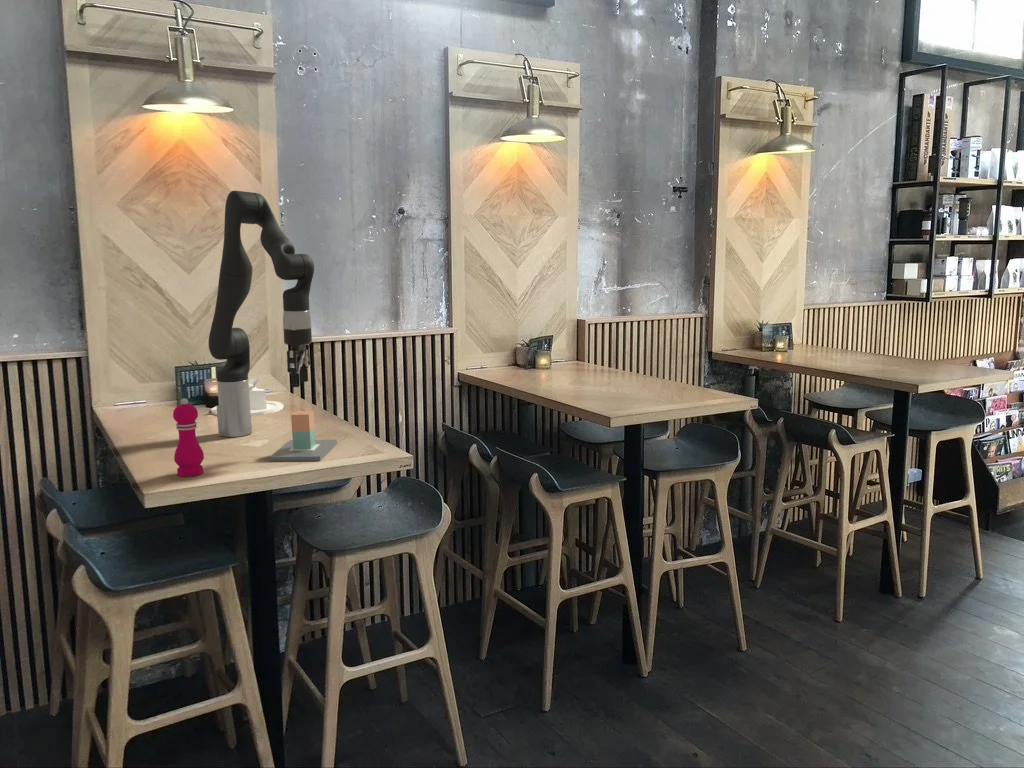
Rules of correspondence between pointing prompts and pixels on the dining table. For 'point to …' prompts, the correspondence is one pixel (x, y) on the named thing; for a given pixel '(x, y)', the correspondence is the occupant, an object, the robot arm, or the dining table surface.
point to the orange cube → (302, 421)
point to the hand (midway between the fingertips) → (300, 384)
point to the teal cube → (303, 440)
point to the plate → (303, 452)
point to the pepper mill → (187, 441)
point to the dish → (258, 401)
